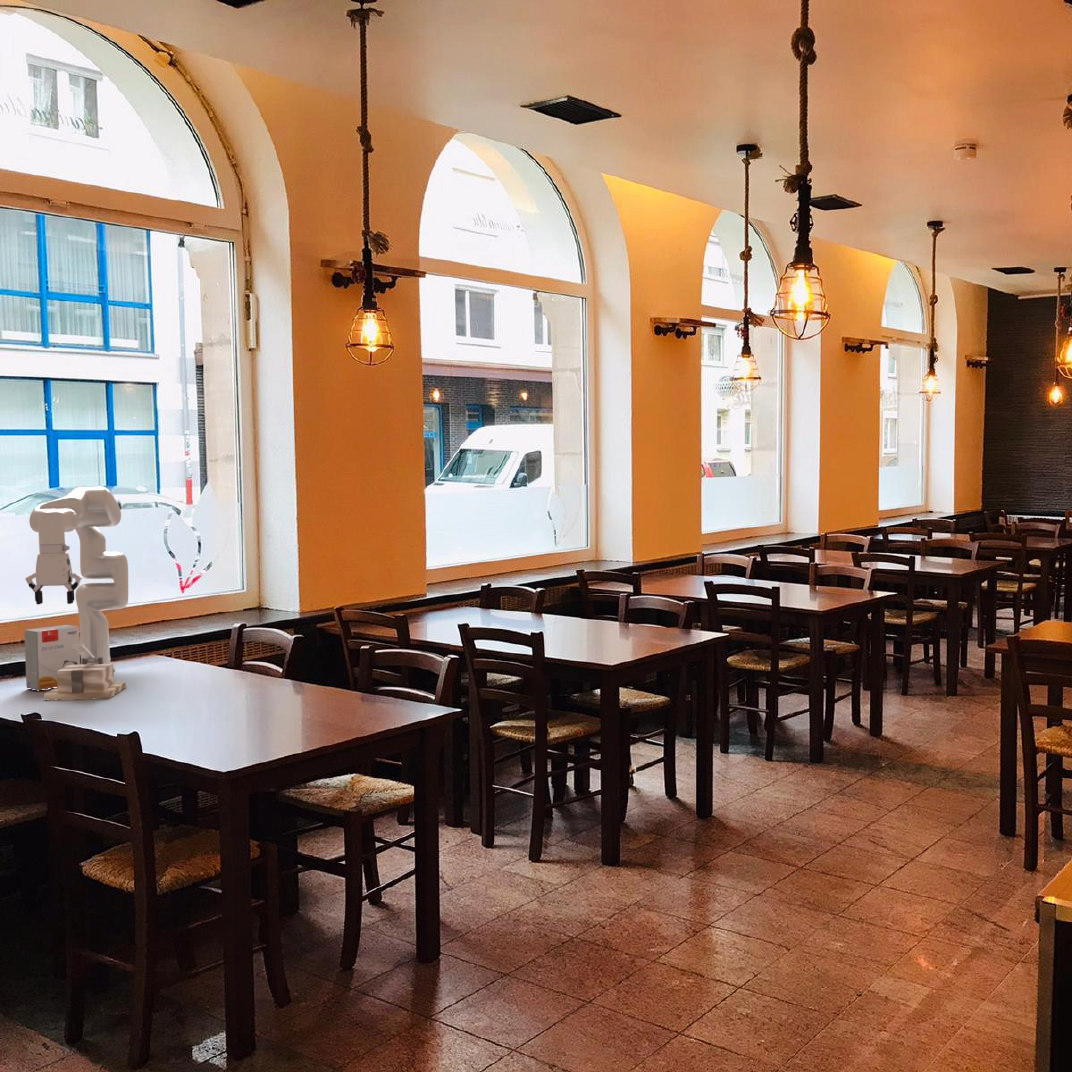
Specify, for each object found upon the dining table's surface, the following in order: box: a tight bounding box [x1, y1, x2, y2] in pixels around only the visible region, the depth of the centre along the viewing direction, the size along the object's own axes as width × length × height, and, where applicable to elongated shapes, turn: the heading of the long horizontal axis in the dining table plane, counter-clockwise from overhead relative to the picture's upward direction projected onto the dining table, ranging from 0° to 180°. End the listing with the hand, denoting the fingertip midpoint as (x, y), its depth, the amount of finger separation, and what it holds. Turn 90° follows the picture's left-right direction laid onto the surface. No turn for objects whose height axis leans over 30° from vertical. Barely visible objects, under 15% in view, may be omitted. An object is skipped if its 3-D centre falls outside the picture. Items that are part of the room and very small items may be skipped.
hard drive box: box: [23, 624, 81, 690], centre depth 376 cm, size 16×8×20 cm, turn 143°
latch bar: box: [72, 643, 98, 663], centre depth 364 cm, size 16×3×1 cm, turn 2°
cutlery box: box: [43, 657, 127, 701], centre depth 364 cm, size 17×20×10 cm
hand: (55, 603), depth 357 cm, fingers open, 9 cm apart
